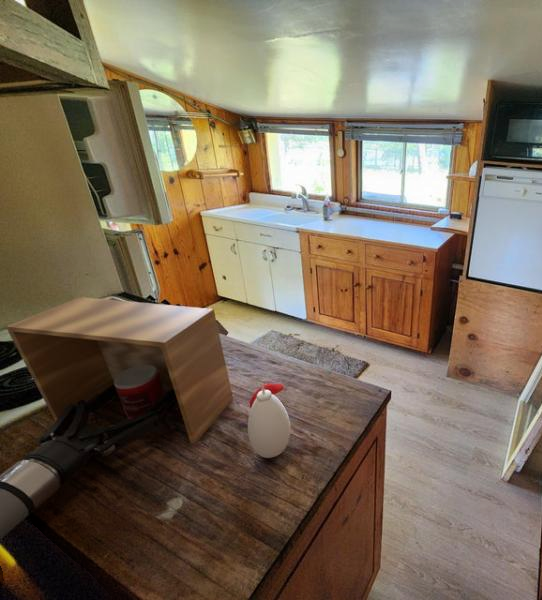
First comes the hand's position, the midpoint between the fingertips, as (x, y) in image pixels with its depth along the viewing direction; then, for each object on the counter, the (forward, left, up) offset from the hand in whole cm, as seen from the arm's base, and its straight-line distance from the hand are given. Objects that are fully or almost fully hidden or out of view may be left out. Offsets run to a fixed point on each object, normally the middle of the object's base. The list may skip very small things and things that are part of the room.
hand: (146, 390), depth 74 cm
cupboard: (0, 0, -6) cm, 6 cm away
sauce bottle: (+33, -7, -6) cm, 34 cm away
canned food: (0, -1, -6) cm, 6 cm away
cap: (+26, +5, -6) cm, 27 cm away
